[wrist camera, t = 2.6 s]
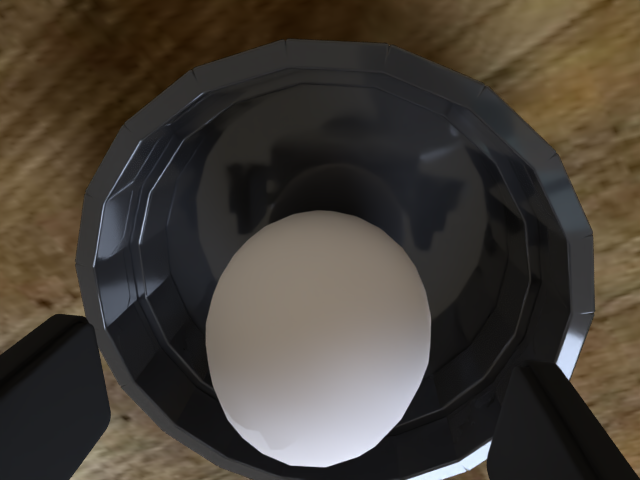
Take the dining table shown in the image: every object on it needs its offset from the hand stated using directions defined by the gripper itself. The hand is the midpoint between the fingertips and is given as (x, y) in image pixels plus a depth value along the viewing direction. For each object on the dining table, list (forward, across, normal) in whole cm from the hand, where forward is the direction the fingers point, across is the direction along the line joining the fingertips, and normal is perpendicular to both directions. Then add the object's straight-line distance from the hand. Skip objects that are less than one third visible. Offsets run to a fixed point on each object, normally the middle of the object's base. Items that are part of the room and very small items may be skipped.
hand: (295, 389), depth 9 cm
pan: (+6, 0, 0) cm, 7 cm away
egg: (+6, 0, 0) cm, 6 cm away
